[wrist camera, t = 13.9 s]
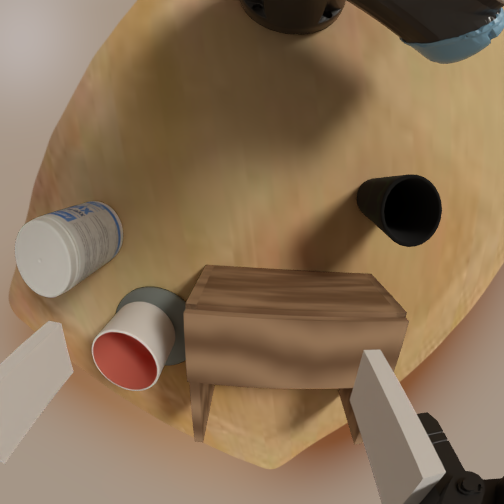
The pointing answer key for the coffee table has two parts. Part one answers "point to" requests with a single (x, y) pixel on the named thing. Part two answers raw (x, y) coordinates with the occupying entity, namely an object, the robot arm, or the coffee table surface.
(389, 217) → the cup
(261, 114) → the coffee table surface
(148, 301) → the coaster
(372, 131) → the coffee table surface
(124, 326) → the cup
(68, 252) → the supplement tub
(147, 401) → the coffee table surface
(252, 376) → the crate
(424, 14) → the robot arm
